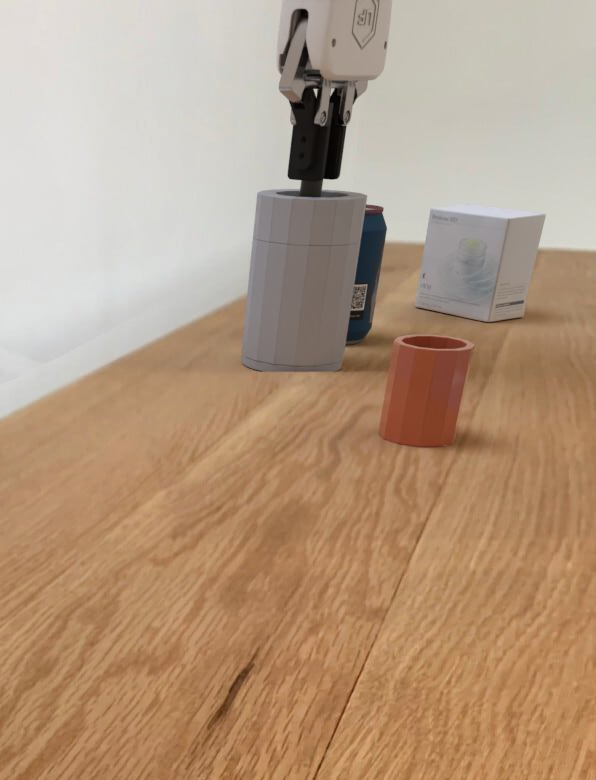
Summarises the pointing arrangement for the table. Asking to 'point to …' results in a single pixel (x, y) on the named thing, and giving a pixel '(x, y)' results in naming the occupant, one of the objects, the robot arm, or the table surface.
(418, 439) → the brush pot
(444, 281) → the cosmetics box
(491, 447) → the table surface
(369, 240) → the soda can
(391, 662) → the table surface
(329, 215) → the grey cylindrical canister
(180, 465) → the table surface
